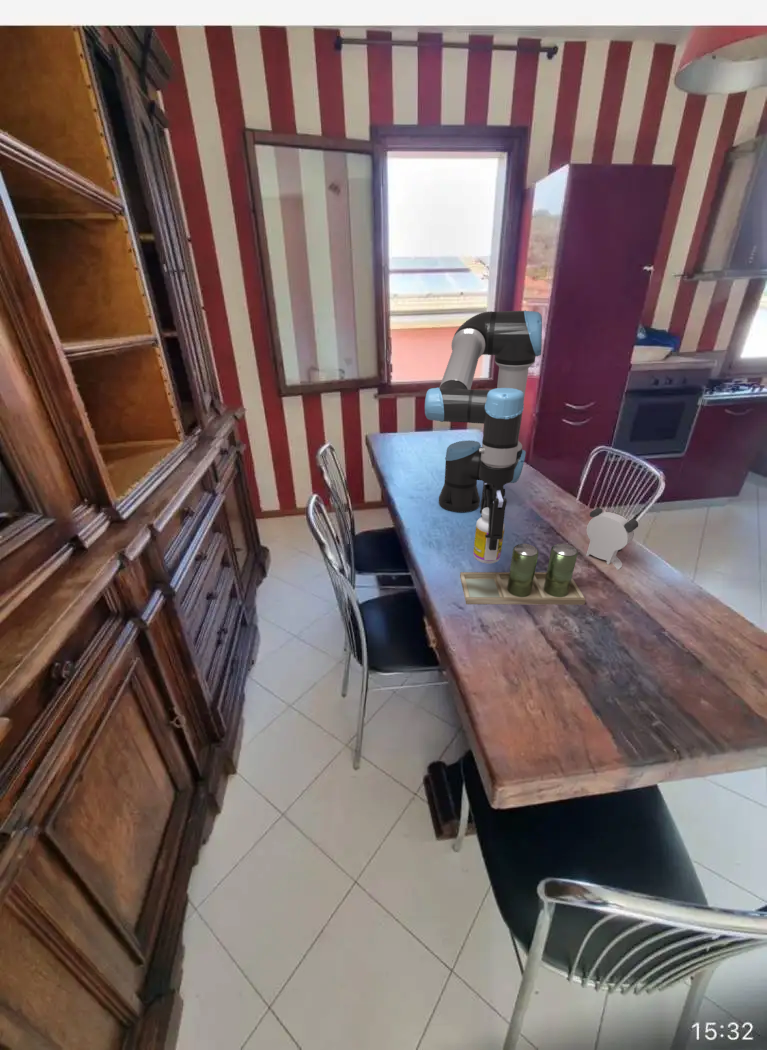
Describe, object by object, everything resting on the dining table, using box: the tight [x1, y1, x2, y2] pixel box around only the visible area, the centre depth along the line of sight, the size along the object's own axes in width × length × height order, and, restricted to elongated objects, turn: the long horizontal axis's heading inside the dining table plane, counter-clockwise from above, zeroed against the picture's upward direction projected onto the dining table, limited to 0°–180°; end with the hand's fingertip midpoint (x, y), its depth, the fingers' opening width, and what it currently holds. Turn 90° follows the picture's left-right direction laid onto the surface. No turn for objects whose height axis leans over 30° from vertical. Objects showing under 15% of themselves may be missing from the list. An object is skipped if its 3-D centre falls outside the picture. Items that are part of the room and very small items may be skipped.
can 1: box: [507, 543, 540, 597], centre depth 105 cm, size 6×6×12 cm
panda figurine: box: [585, 507, 639, 571], centre depth 118 cm, size 12×11×15 cm
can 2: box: [544, 543, 579, 597], centre depth 105 cm, size 6×6×12 cm
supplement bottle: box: [472, 507, 506, 565], centre depth 101 cm, size 7×7×13 cm
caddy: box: [459, 571, 587, 606], centre depth 108 cm, size 12×29×2 cm, turn 88°
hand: (487, 551), depth 103 cm, fingers closed on supplement bottle, 7 cm apart
